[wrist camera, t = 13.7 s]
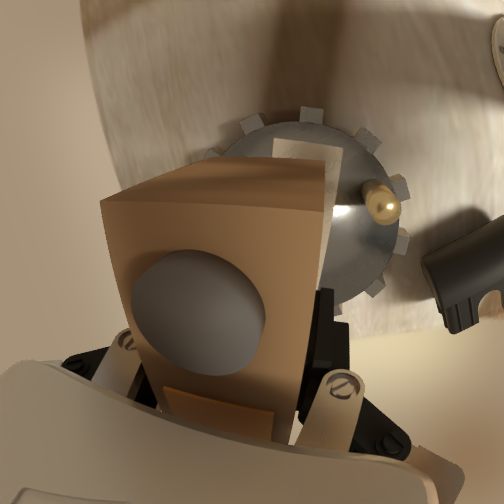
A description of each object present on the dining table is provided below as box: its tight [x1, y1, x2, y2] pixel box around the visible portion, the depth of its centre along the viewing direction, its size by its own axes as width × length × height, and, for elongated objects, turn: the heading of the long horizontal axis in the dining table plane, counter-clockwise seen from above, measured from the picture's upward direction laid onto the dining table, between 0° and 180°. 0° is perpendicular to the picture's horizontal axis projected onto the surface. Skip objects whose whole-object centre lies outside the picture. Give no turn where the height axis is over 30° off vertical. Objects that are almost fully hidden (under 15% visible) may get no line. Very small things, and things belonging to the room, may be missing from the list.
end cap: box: [421, 215, 504, 334], centre depth 20 cm, size 10×7×7 cm
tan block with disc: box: [100, 156, 325, 445], centre depth 9 cm, size 4×12×7 cm, turn 0°
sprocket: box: [203, 106, 410, 316], centre depth 21 cm, size 18×18×6 cm
